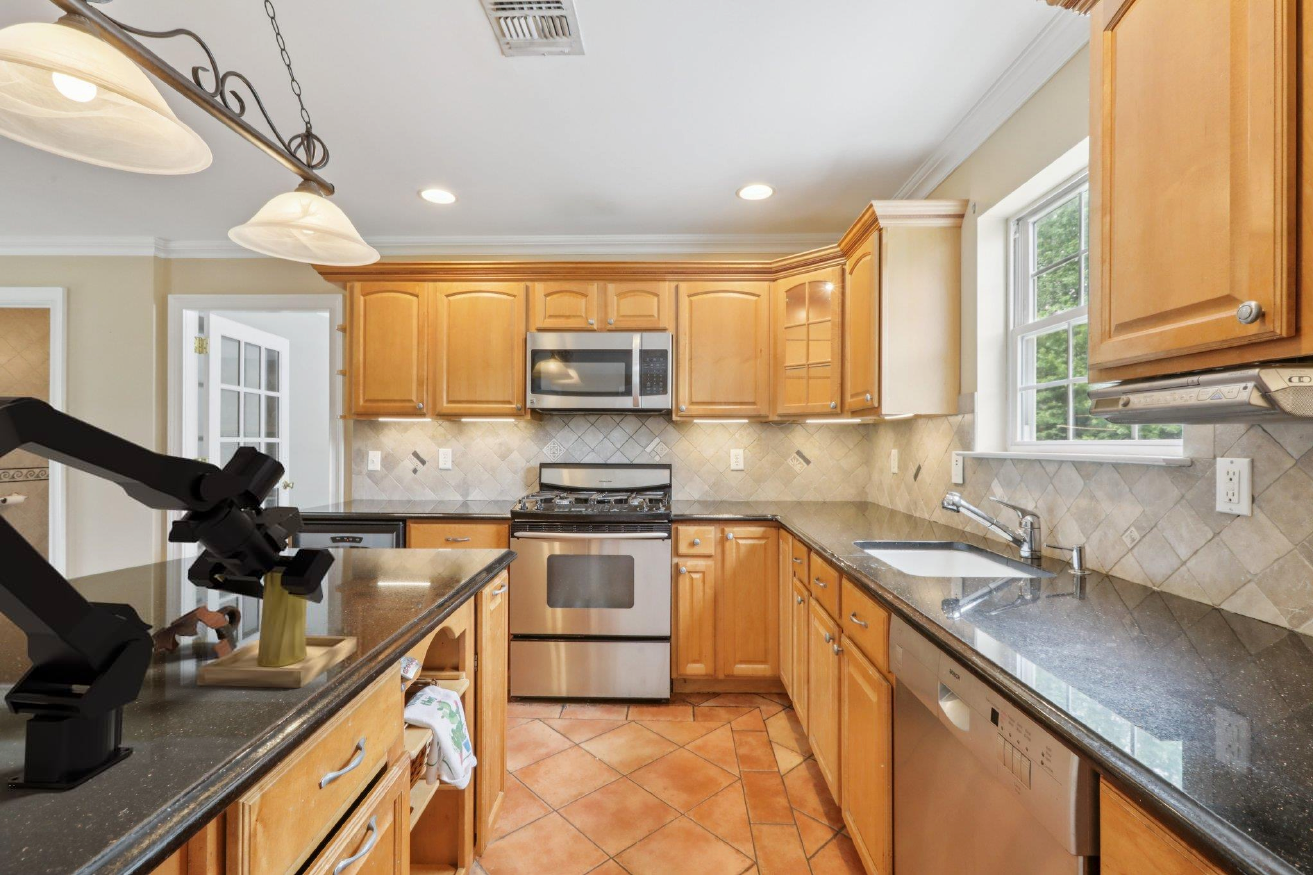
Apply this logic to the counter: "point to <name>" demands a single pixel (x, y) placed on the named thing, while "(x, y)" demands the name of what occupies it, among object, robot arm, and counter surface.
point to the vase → (281, 625)
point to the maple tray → (247, 672)
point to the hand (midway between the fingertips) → (292, 598)
